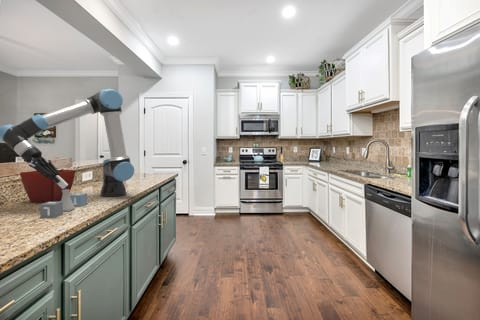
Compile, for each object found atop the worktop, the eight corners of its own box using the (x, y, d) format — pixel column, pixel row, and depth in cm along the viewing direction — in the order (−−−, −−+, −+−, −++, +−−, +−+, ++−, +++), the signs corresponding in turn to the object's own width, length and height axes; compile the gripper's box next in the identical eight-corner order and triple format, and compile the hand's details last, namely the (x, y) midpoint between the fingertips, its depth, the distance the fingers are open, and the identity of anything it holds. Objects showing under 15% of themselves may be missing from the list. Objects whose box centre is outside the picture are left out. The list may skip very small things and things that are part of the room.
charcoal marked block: (49, 214, 123) (49, 201, 123) (62, 214, 123) (62, 201, 123) (40, 218, 117) (39, 204, 117) (54, 218, 117) (54, 204, 117)
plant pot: (46, 196, 164) (45, 169, 164) (76, 197, 164) (76, 169, 163) (19, 203, 145) (18, 172, 145) (53, 204, 145) (53, 172, 144)
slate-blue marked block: (75, 204, 145) (75, 193, 145) (87, 204, 145) (87, 193, 145) (69, 206, 139) (68, 195, 139) (81, 206, 139) (80, 195, 139)
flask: (78, 208, 135) (78, 189, 134) (67, 212, 127) (67, 191, 127) (64, 208, 135) (64, 188, 135) (53, 211, 128) (53, 191, 127)
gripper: (32, 157, 135) (67, 190, 137) (12, 158, 122) (51, 194, 124) (43, 146, 135) (78, 179, 137) (24, 146, 122) (62, 183, 124)
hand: (65, 186), depth 131 cm, fingers closed
